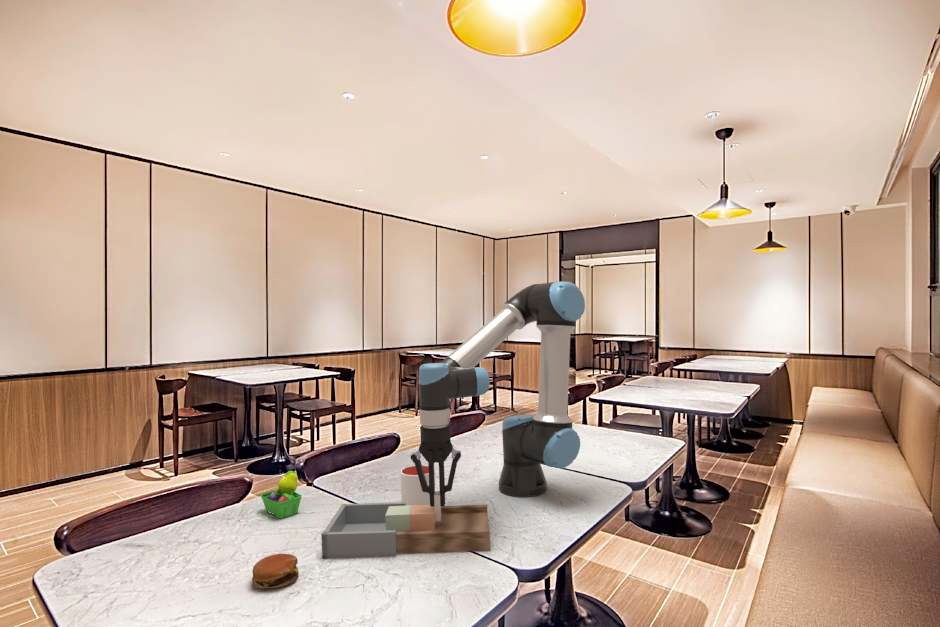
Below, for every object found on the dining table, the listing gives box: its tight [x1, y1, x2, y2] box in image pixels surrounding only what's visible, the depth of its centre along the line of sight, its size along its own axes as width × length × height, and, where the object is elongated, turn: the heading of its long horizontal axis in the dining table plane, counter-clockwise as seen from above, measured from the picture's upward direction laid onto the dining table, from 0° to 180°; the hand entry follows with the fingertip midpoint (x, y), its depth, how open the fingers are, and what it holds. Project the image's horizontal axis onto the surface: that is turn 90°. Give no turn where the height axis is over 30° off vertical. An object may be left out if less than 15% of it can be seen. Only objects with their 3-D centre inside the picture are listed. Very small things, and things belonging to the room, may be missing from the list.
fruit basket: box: [260, 470, 303, 519], centre depth 148 cm, size 11×9×11 cm
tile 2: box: [410, 505, 436, 531], centre depth 128 cm, size 6×6×4 cm
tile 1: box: [385, 505, 412, 531], centre depth 128 cm, size 6×6×4 cm
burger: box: [251, 553, 300, 590], centre depth 109 cm, size 10×9×5 cm
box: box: [321, 501, 406, 559], centre depth 128 cm, size 17×19×6 cm
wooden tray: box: [396, 504, 491, 555], centre depth 128 cm, size 22×17×4 cm
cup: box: [400, 464, 436, 506], centre depth 151 cm, size 10×10×10 cm
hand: (438, 518), depth 128 cm, fingers closed
